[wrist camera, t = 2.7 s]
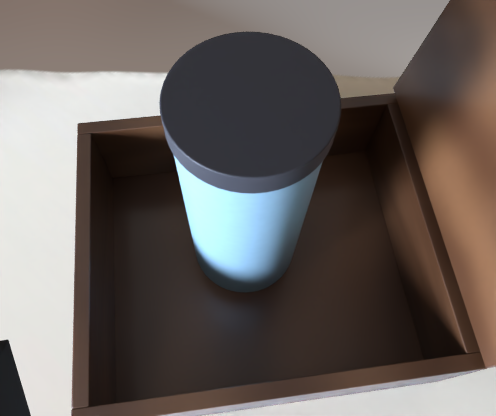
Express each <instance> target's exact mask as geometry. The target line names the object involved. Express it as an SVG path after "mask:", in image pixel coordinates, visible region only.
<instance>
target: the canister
mask: <svg viewBox="0 0 496 416" xmlns="http://www.w3.org/2000/svg"><path fill="white" fill-rule="evenodd" d="M160 114H161V119H162V124H163V128H164V132H165V136H166V140H167V142H168V145H169V147H170V149H171V151H172V153H173V154H174V158H175V163H176V167H177V172H178V176H179V181H180V185H181V190H182V194H183V199H184V203H185V208H186V212H187V217H188V221H189V226H190V230H191V234H192V239H193V243H194V248H195V252H196V257H197V260H198V263H199V265H200V267H201V269H202V270H203V272H204V273H205V275H206V276H207V277H208V278H209V279H210V280H211V281H213V282H214V283H215V284H217V285H219V286H220V287H222V288H225V289H227V290H231V291H235V292H254V291H259V290H262V289H264V288H267V287H268V286H270V285H272V284H273V283H275V282H276V281H277V280H278V279H280V278H281V277H282V275H283V274H284V273H285V272H286V270H287V268H288V267H289V264H290V262H291V259H292V256H293V253H294V250H295V247H296V244H297V240H298V237H299V234H300V231H301V228H302V225H303V222H304V218H305V215H306V212H307V209H308V206H309V203H310V200H311V197H312V193H313V190H314V187H315V184H316V181H317V178H318V175H319V171H320V168H321V165H322V162H323V160H324V159H325V157H326V156H327V154H328V152H329V150H330V148H331V146H332V143H333V141H334V138H335V135H336V132H337V129H338V125H339V121H340V117H341V97H340V93H339V89H338V86H337V84H336V81H335V79H334V77H333V76H332V74H331V72H330V71H329V69H328V68H327V67H326V65H325V64H324V63H323V62H322V61H321V60H320V59H319V58H318V57H317V56H316V55H315V54H313V53H312V52H311V51H310V50H308V49H307V48H305V47H303V46H301V45H300V44H298V43H296V42H294V41H292V40H289V39H287V38H284V37H281V36H277V35H273V34H268V33H261V32H237V33H229V34H224V35H220V36H217V37H214V38H211V39H209V40H206V41H204V42H202V43H200V44H198V45H196V46H195V47H193V48H192V49H190V50H189V51H187V52H186V53H185V54H184V55H183V56H182V57H180V58H179V59H178V61H177V62H176V63H175V64H174V65H173V67H172V68H171V70H170V71H169V73H168V74H167V77H166V79H165V81H164V83H163V86H162V90H161V94H160Z"/></svg>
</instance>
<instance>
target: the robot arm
mask: <svg viewBox="0 0 496 416" xmlns="http://www.w3.org/2000/svg"><path fill="white" fill-rule="evenodd" d="M0 416H31V415H30V411H29V408H28V405H27V401H26V398H25V395H24V391H23V388H22V385H21V381H20V378H19V374H18V371H17V368H16V364H15V361H14V358H13V354H12V351H11V347H10V344H9V341H8V340H3V341H0Z"/></svg>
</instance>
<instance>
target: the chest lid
mask: <svg viewBox="0 0 496 416" xmlns="http://www.w3.org/2000/svg"><path fill="white" fill-rule="evenodd" d="M393 89H394V92H395V95H396V98H397V101H398V104H399V107H400V110H401V113H402V116H403V119H404V122H405V125H406V128H407V131H408V134H409V137H410V140H411V143H412V146H413V149H414V152H415V155H416V158H417V161H418V164H419V167H420V171H421V174H422V177H423V180H424V183H425V186H426V189H427V192H428V195H429V198H430V201H431V204H432V207H433V210H434V213H435V216H436V219H437V222H438V225H439V228H440V231H441V234H442V237H443V240H444V243H445V246H446V249H447V252H448V255H449V258H450V261H451V264H452V267H453V270H454V273H455V276H456V279H457V282H458V285H459V288H460V291H461V294H462V297H463V300H464V303H465V306H466V309H467V312H468V315H469V318H470V321H471V324H472V327H473V330H474V334H475V337H476V340H477V343H478V346H479V349H480V352H481V355H482V358H483V361H484V364H485V367H486V368H490V367H496V0H450V1H449V3H448V4H447V6H446V8H445V9H444V11H443V12H442V14H441V15H440V17H439V18H438V20H437V21H436V23H435V24H434V26H433V28H432V29H431V31H430V32H429V34H428V35H427V37H426V38H425V40H424V41H423V43H422V45H421V46H420V48H419V49H418V51H417V52H416V54H415V55H414V57H413V59H412V60H411V61H410V63H409V64H408V66H407V68H406V69H405V71H404V72H403V74H402V75H401V77H400V78H399V80H398V81H397V83H396V84H395V86H394V88H393Z"/></svg>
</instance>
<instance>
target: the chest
mask: <svg viewBox="0 0 496 416" xmlns="http://www.w3.org/2000/svg"><path fill="white" fill-rule="evenodd" d="M483 369H487V368H486V367H485V364H484V361H483V358H482V355H481V352H480V349H479V346H478V343H477V340H476V337H475V334H474V330H473V327H472V324H471V321H470V318H469V315H468V312H467V309H466V306H465V303H464V300H463V297H462V294H461V291H460V288H459V285H458V282H457V279H456V276H455V273H454V270H453V267H452V264H451V261H450V258H449V255H448V252H447V249H446V246H445V243H444V240H443V237H442V234H441V231H440V228H439V225H438V222H437V219H436V216H435V213H434V210H433V207H432V204H431V201H430V198H429V195H428V192H427V189H426V186H425V183H424V180H423V177H422V174H421V171H420V167H419V164H418V161H417V158H416V155H415V152H414V149H413V146H412V143H411V140H410V137H409V134H408V131H407V128H406V125H405V122H404V119H403V116H402V113H401V110H400V107H399V104H398V101H397V98H396V95H395V93H393V94H383V95H372V96H362V97H351V98H341V117H340V121H339V125H338V129H337V132H336V135H335V138H334V141H333V143H332V146H331V148H330V150H329V152H328V154H327V156H326V157H325V159H324V160H323V162H322V165H321V168H320V171H319V175H318V178H317V181H316V184H315V187H314V190H313V193H312V197H311V200H310V203H309V206H308V209H307V212H306V215H305V218H304V222H303V225H302V228H301V231H300V234H299V237H298V240H297V244H296V247H295V250H294V253H293V256H292V259H291V262H290V264H289V267H288V268H287V270H286V272H285V273H284V274H283V275H282V277H281V278H280V279H278V280H277V281H276V282H275V283H273V284H272V285H270V286H268V287H267V288H264V289H262V290H259V291H254V292H235V291H231V290H227V289H225V288H222V287H220V286H219V285H217V284H215V283H214V282H213V281H211V280H210V279H209V278H208V277H207V276H206V275H205V273H204V272H203V270H202V269H201V267H200V265H199V263H198V260H197V257H196V252H195V248H194V243H193V239H192V234H191V230H190V226H189V221H188V217H187V212H186V208H185V203H184V199H183V194H182V190H181V185H180V181H179V176H178V172H177V167H176V163H175V158H174V154H173V153H172V151H171V149H170V147H169V145H168V142H167V140H166V136H165V132H164V128H163V124H162V119H161V116H152V117H141V118H131V119H120V120H110V121H99V122H89V123H79V124H78V135H77V179H76V226H75V272H74V319H73V366H72V410H71V416H202V415H209V414H216V413H223V412H230V411H237V410H244V409H251V408H257V407H264V406H271V405H278V404H285V403H292V402H299V401H306V400H313V399H320V398H326V397H333V396H340V395H347V394H354V393H361V392H368V391H375V390H382V389H389V388H396V387H402V386H409V385H416V384H423V383H430V382H437V381H441V380H445V379H449V378H453V377H456V376H460V375H464V374H468V373H472V372H476V371H480V370H483Z"/></svg>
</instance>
